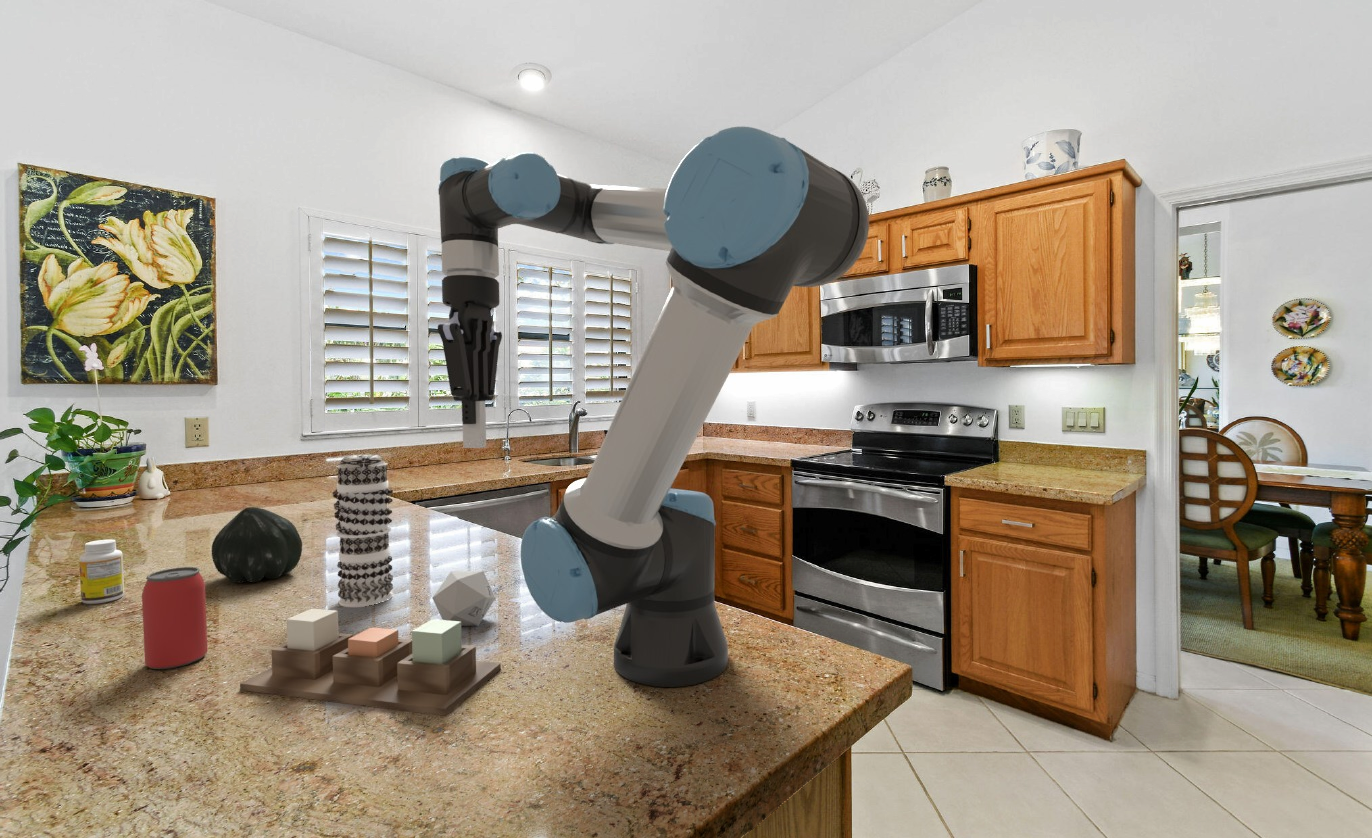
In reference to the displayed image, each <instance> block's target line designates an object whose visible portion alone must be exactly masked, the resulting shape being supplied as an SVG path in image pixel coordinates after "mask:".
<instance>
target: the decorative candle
mask: <svg viewBox="0 0 1372 838" xmlns="http://www.w3.org/2000/svg"><path fill="white" fill-rule="evenodd" d="M388 464H389V463H388V462H385V461H384V459H383V457H381V455H378V454H355V455H346V456H345V457H343V458H342V459H341V460H340V462H339V464H337V465H335V467H336V468H337V478H338V481H337V483H336V489H335V490H334V491H333V492H332V497H333V498H335V499H336V502H335V503H334V504H333V507H334V510H336V511H335V512H334V517H333V518H335V519H337V520H338V521H337V523H336V524H335V530H336V537H338V538H339V539H340V540H339V546H340V547H339V548H340V549H339V552H338V560H339V561H338V562H337V565H336V566H337V568H338V569H340V570H338V571H337V577H339V578H340V580H338V582H337V588H338V589H339V590H338V591H337V595H338V597H339V600H338V604H339V606H341V607H344V608H353V609H354V608H356V609H357V608H365V606H367V607H370V606H369V605H372V606H375V605H374V604H376V603H379V602H382V601H386V600H387V599H390V598H391V597H392V598H393V596H394V593H393V592H392V590H393V589H394V584H393V583H392V581H393V580H394V578H393V577H394V576H393V574H391V571H392V570H393V565H391V564H390V563H391V562H392V561H393V557H392V556H391V546H390V544H389V542H390V540H389V539H390V538H389V536H390V535H389V533H391V531H392V527H391V526H389V524H391V523H392V522H393V520H392V518H390V517H389V516H390V515H391V514H392V513H393V510H392V509H390V508H389V507H388V505H389V504H391V503H392V502H393V499H392V497H390V495H391V494H393V492H394V491H393V489H391V488H389V480H388V469H387V468H388V467H387V466H388ZM392 595H393V596H392ZM392 598H391V599H392ZM391 599H390V600H391ZM386 602H387V601H386Z"/></svg>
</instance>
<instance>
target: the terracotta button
mask: <svg viewBox="0 0 1372 838" xmlns="http://www.w3.org/2000/svg"><path fill="white" fill-rule="evenodd" d="M399 639H400V638H399V629H393V628H392V629H391V628H381V627H374V626H373V627H369V628H367V629H365V630H364V631H361V632H359V633H357V634H355V635H353V637H351V638H349V639H348V655H357V656H367V657H376V658H377V657H379V656H381V655H382V654H384V653H386V652H387V651H389V650H391V649H393V648H394V647H396V646H398V645H399Z"/></svg>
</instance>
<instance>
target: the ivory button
mask: <svg viewBox="0 0 1372 838" xmlns="http://www.w3.org/2000/svg"><path fill="white" fill-rule="evenodd" d="M338 633H339V611H338V610H333V609H332V610H331V609H322V608H321V609H320V608H310V609H307V610H305V611H303V612H301V613H298V614H296V615H293V616H291V617H288V618H286V636H287V637H286V638H287V639H286V641H287V642H286V643H287V648H291V649H300V650H310V651H315V650H317V649H319V648H321V647H323V646H325V645H327V644H329V643H331V642H333V641H335V640H337V639H339V634H338Z"/></svg>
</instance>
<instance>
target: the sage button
mask: <svg viewBox="0 0 1372 838" xmlns="http://www.w3.org/2000/svg"><path fill="white" fill-rule="evenodd" d="M411 640H412V654H413V661H414V662H423V663H433V664H442V665H443V664H445V663H446V662H448V661H449V660H451V659H452V658H453V657H455V656H456V655H458V654H459V653H460V652H462V645H463V644H462V642H463V641H462V626H461V622H460V621H449V620H442V619H436V618H431V619H430V620H429V621H427V622H425V623H423V624H421V625H419V626H417V627H416V628H415V629H413V630H411Z"/></svg>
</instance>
